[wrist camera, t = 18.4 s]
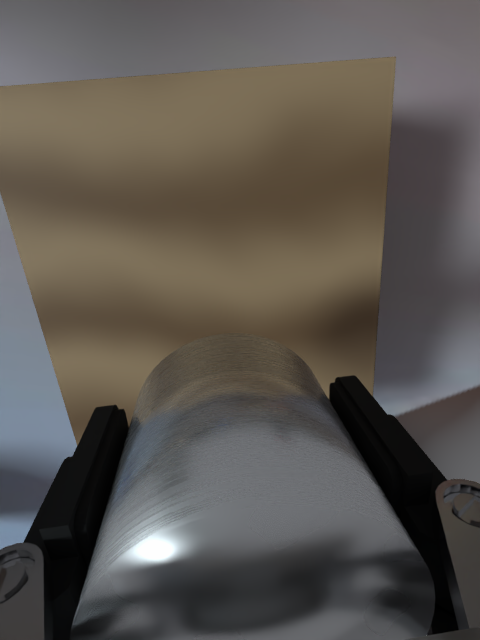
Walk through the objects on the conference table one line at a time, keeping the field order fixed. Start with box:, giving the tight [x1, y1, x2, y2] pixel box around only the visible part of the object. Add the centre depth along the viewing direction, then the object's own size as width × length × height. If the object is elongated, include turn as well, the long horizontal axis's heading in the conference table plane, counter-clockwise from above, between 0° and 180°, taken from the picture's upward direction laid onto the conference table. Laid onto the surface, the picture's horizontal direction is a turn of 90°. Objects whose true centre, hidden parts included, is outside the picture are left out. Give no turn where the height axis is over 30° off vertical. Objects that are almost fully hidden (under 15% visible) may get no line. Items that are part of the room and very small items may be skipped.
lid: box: [0, 57, 396, 446], centre depth 19 cm, size 22×17×1 cm
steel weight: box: [70, 333, 435, 640], centre depth 9 cm, size 6×6×6 cm
